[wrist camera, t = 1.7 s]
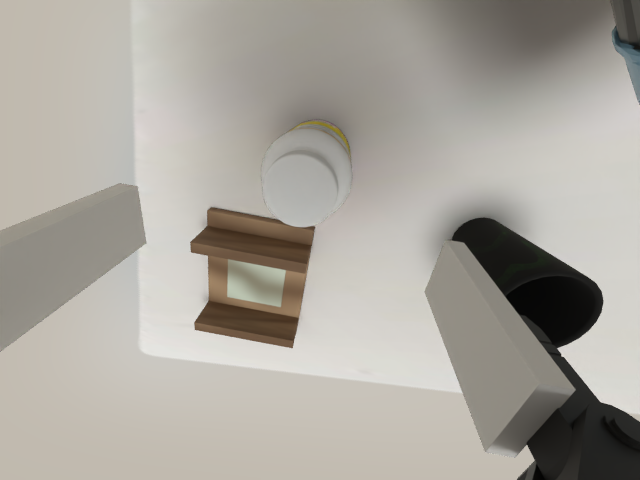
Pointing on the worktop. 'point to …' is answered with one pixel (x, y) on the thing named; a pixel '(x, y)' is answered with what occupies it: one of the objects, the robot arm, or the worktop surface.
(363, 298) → the worktop surface
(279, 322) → the holder
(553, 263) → the cup
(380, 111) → the worktop surface
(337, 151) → the supplement bottle
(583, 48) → the worktop surface
